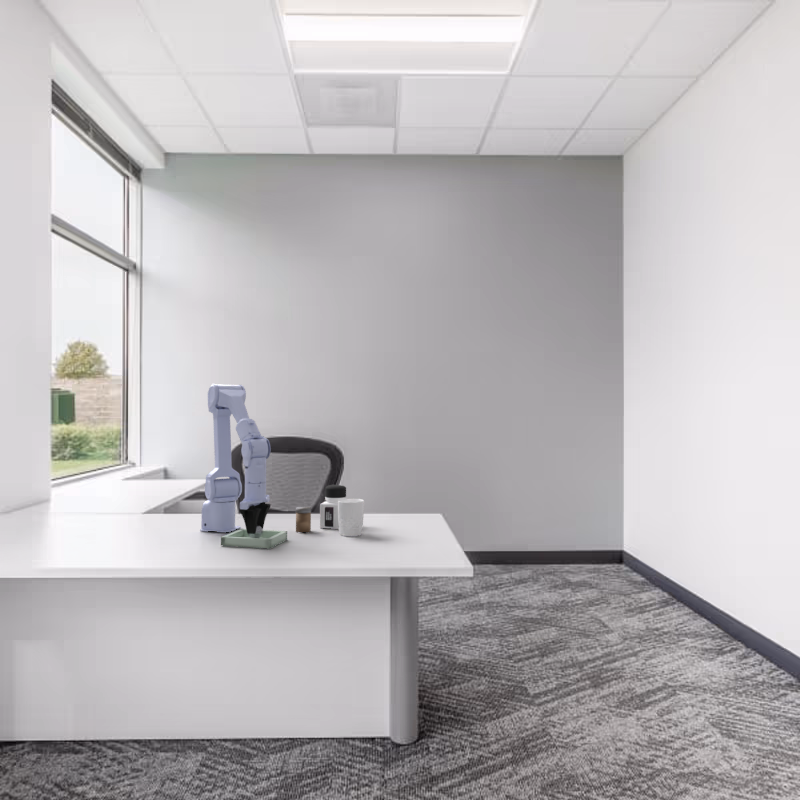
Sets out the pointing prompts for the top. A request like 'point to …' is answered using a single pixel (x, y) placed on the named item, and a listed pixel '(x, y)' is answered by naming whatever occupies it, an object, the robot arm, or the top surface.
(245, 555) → the top surface
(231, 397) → the robot arm
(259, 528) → the ball
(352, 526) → the white cup
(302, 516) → the cylinder
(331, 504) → the container
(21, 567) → the top surface
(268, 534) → the tray
